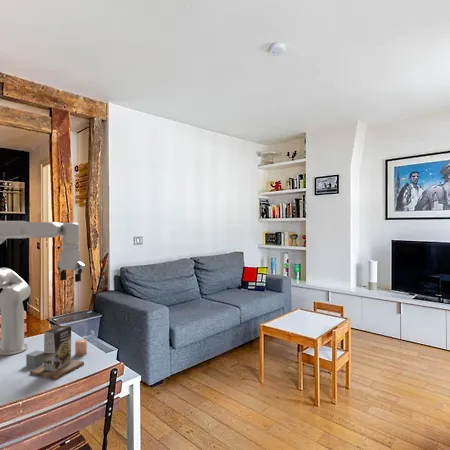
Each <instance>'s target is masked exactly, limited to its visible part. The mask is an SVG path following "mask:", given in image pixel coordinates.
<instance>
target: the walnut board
mask: <svg viewBox="0 0 450 450" xmlns="http://www.w3.org/2000/svg"><path fill="white" fill-rule="evenodd" d="M83 365H85V362H84V361H82V360H77V359H72V358H71V363H69V364H68V365H66V366H64V367H63V368H61V369H59V370H57V371H49V370H44V364H41V365H39V366H37V367H35V368H34V369H31V370H29V375H32V376H36V377H41V378H46V379H50V380H53V381H56V380H58V379H59V378H62V377H64V376H66V375H68V374H69V373H71V372H73V371H75V370H76V369H78V368H80V367H82V366H83Z"/></svg>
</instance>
